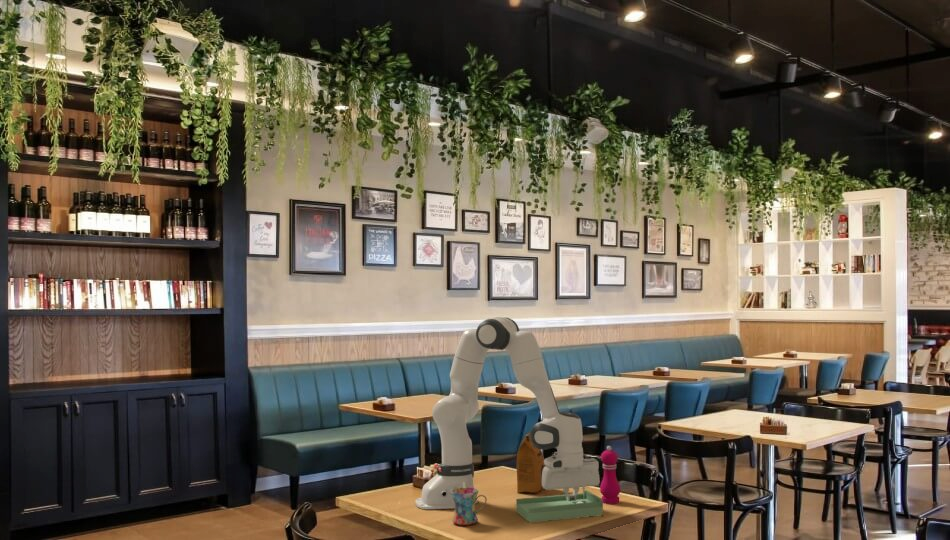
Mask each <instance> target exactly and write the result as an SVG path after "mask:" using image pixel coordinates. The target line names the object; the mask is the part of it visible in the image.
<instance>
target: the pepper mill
mask: <svg viewBox="0 0 950 540" xmlns="http://www.w3.org/2000/svg"><path fill="white" fill-rule="evenodd" d="M618 459H619V458H618V454H617V452H616V451H614V450H612V446H611V445H607V446H606V450H604V451H603V452H602V453H601V455H600V460H601V462H602V469H603V477H602V480H601V482H600V486H599V487H600V488H599V492H600V493H601V495H602V496H601V499H603V504H605V503H606V505H616V504H619V503H620V496H619V495H620V493H621V485H620V483H619V481H618V478H617V475H616V469H617V468H618V467H617V462H618Z"/></svg>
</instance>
